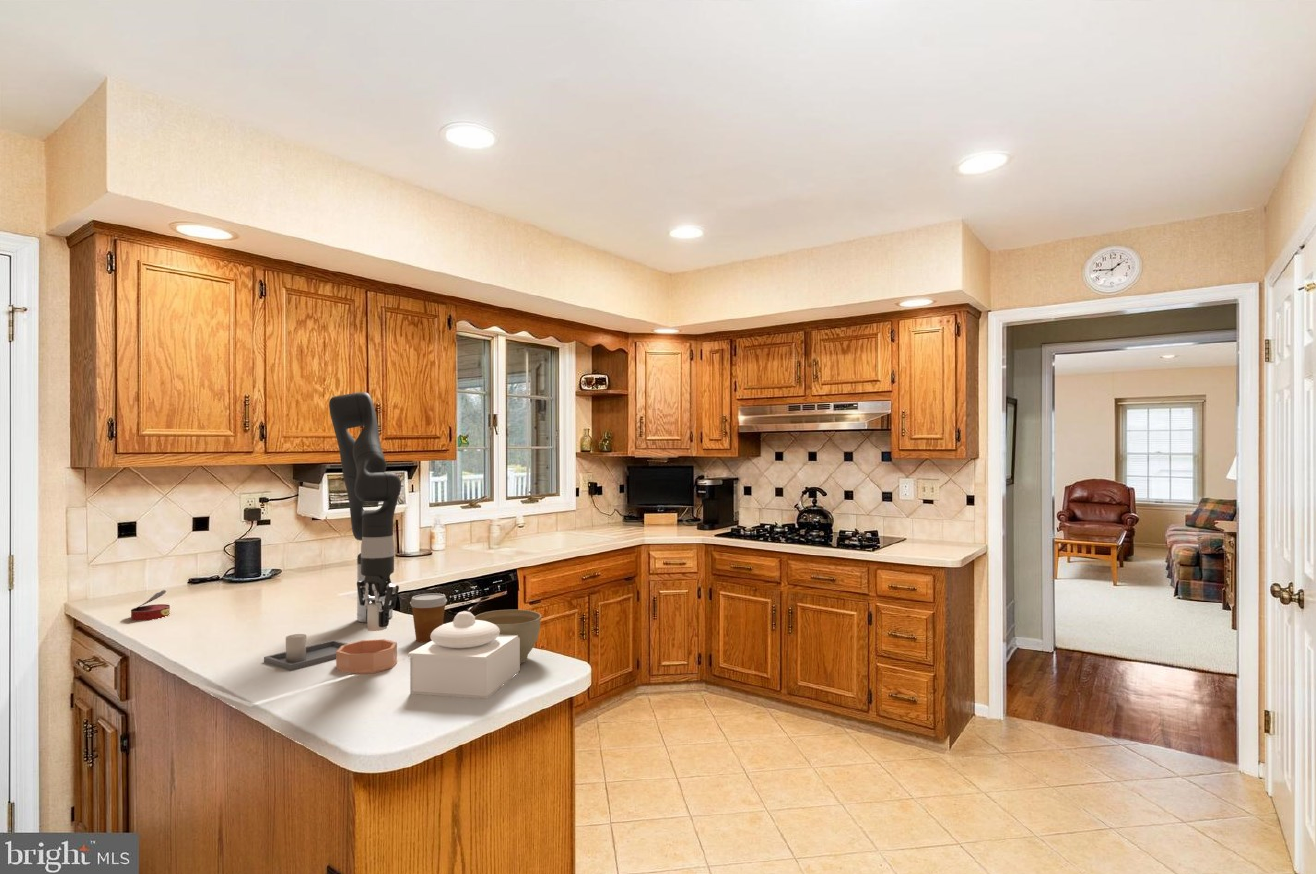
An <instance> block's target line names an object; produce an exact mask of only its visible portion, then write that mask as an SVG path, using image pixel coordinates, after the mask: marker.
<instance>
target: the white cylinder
mask: <svg viewBox="0 0 1316 874" xmlns="http://www.w3.org/2000/svg"><path fill="white" fill-rule="evenodd" d="M382 603H383V606H384V602H382ZM379 612H380V611H379V607H378V603H376V602H374V603H369V604H368V605H367V624H366V625H367V626H366V628H367V631H369V632H380V631H384V630H386V629H388V626H386V627H379Z"/></svg>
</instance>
